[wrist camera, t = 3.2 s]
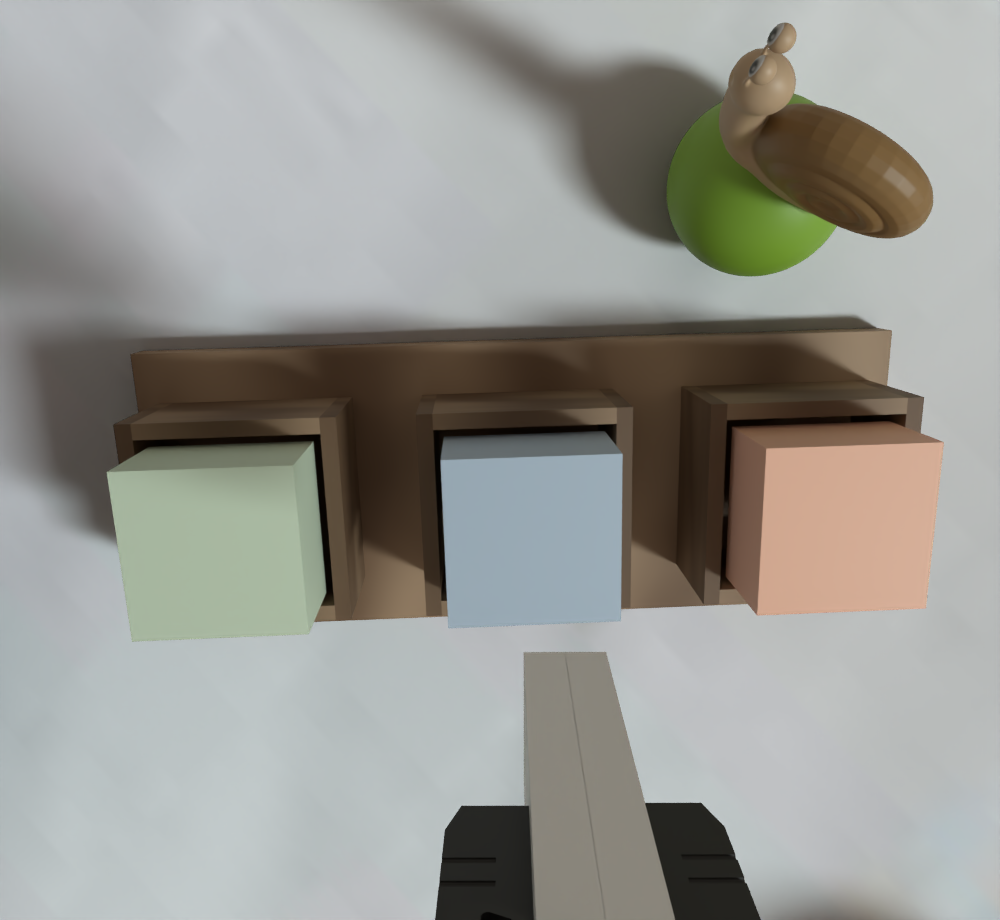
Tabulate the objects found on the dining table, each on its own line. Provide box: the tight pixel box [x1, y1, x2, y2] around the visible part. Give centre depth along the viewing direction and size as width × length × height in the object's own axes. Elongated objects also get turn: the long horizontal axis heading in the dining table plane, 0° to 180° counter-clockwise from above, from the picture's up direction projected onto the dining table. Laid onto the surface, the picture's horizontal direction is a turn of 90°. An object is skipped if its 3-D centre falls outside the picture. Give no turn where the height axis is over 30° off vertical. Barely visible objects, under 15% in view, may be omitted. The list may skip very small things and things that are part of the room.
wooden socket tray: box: [113, 328, 924, 622], centre depth 28 cm, size 26×10×5 cm, turn 92°
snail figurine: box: [667, 23, 933, 276], centre depth 22 cm, size 5×6×12 cm
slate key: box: [441, 431, 623, 628], centre depth 24 cm, size 5×5×3 cm
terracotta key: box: [726, 421, 944, 615], centre depth 25 cm, size 5×5×3 cm
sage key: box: [107, 441, 326, 642], centre depth 24 cm, size 5×5×3 cm
